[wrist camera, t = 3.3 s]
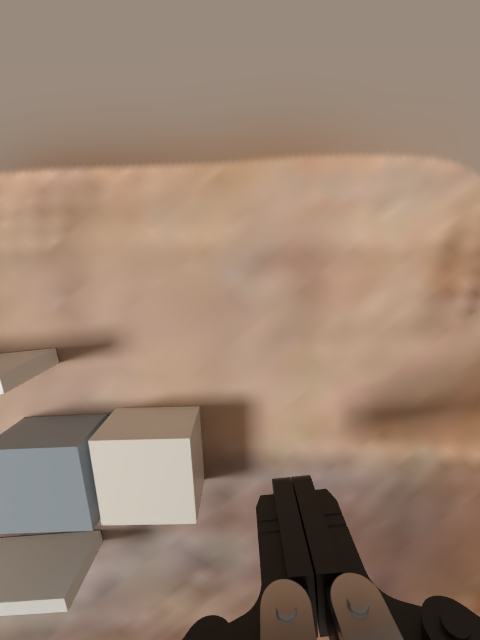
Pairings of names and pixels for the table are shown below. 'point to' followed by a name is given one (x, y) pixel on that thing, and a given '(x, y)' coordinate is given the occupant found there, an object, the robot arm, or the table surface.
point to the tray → (40, 550)
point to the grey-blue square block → (48, 475)
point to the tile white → (148, 466)
